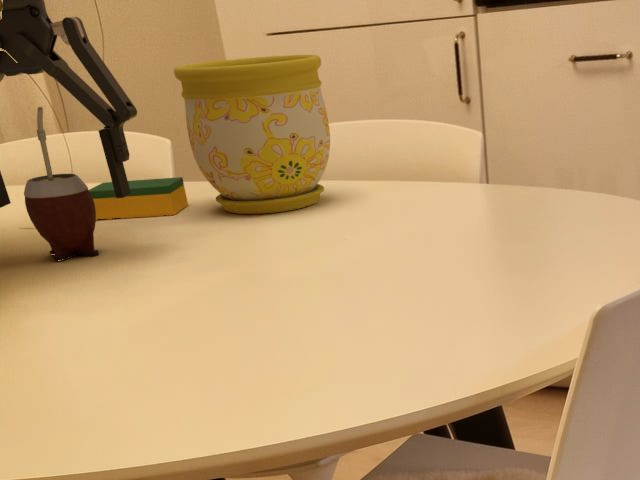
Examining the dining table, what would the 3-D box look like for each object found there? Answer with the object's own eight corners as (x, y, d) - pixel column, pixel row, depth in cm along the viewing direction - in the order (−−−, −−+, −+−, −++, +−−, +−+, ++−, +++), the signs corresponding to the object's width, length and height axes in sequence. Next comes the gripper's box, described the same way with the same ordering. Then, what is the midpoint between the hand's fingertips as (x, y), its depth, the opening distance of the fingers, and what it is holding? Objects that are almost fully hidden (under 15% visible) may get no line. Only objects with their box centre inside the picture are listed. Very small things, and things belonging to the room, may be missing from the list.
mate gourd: (69, 247, 111) (26, 101, 102) (125, 248, 108) (86, 98, 100) (25, 263, 105) (-24, 109, 96) (84, 264, 103) (39, 107, 94)
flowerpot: (367, 195, 127) (350, 52, 118) (270, 223, 115) (242, 66, 106) (274, 189, 136) (251, 56, 127) (175, 214, 125) (142, 69, 115)
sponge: (93, 220, 125) (85, 191, 123) (110, 210, 130) (102, 182, 128) (175, 214, 124) (168, 185, 122) (188, 204, 130) (182, 177, 128)
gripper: (130, -47, 94) (183, 185, 106) (-113, -25, 95) (-33, 203, 107) (105, -50, 88) (165, 197, 100) (-154, -26, 89) (-64, 216, 101)
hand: (63, 201), depth 103 cm, fingers open, 13 cm apart
